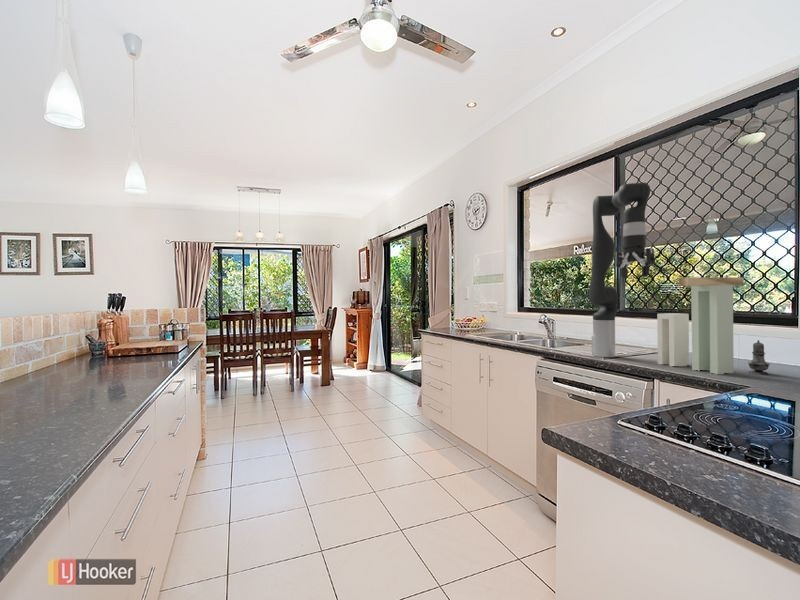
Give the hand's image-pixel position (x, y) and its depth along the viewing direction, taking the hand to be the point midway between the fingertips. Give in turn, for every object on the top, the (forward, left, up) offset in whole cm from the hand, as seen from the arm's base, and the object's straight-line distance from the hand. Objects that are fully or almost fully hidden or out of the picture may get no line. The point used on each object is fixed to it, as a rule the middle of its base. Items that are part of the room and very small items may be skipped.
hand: (634, 277), depth 146 cm
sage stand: (+12, +23, -36) cm, 44 cm away
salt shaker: (+19, +35, -36) cm, 54 cm away
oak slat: (+12, +23, -4) cm, 26 cm away
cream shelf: (-3, +23, -36) cm, 43 cm away
